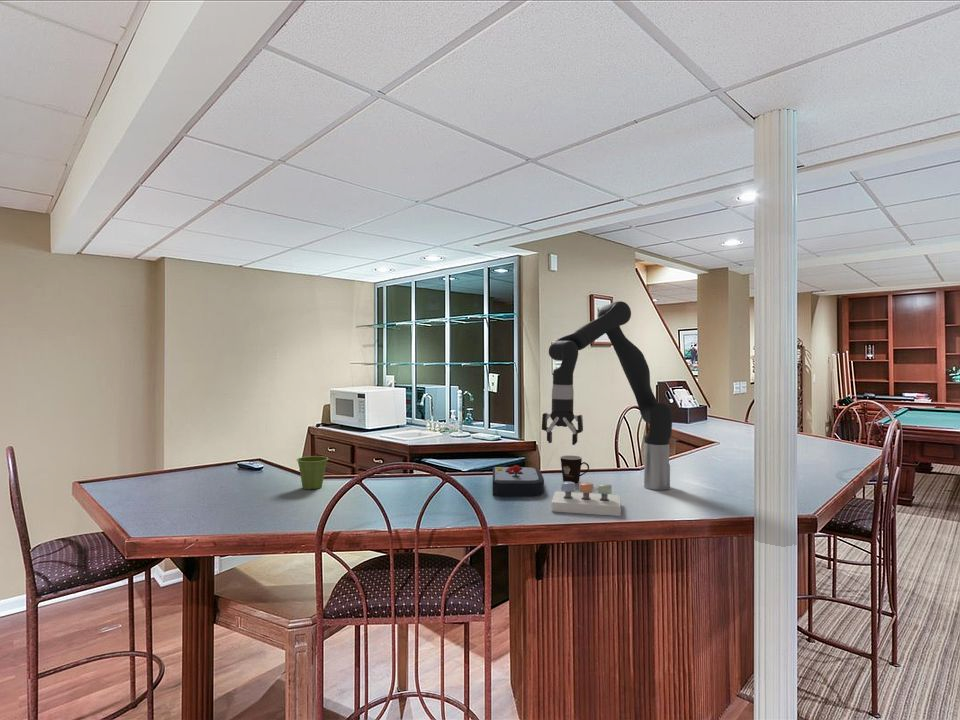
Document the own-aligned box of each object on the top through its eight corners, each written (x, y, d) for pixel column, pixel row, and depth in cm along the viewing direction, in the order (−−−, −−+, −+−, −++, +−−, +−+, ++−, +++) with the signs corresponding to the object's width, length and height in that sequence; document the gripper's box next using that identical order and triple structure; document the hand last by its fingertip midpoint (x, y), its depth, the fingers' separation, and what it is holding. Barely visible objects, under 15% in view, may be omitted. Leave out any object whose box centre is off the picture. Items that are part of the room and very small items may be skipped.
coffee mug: (556, 480, 215) (556, 456, 215) (573, 478, 219) (573, 454, 219) (572, 487, 205) (572, 461, 205) (590, 484, 208) (590, 459, 208)
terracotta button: (593, 499, 179) (593, 482, 179) (593, 503, 175) (593, 486, 175) (579, 498, 180) (579, 482, 180) (578, 502, 176) (579, 485, 176)
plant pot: (323, 491, 198) (323, 461, 197) (291, 491, 198) (291, 461, 198) (332, 484, 209) (332, 455, 209) (302, 483, 210) (302, 455, 210)
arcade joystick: (545, 498, 190) (546, 470, 190) (492, 497, 191) (492, 470, 191) (539, 479, 218) (539, 455, 218) (492, 479, 219) (492, 455, 219)
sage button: (611, 500, 178) (611, 483, 178) (611, 504, 173) (611, 487, 173) (597, 499, 179) (597, 483, 179) (597, 503, 174) (597, 486, 174)
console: (619, 503, 182) (619, 495, 182) (620, 515, 168) (620, 506, 168) (555, 499, 187) (555, 491, 187) (551, 511, 173) (551, 502, 173)
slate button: (575, 498, 180) (575, 481, 180) (574, 501, 176) (574, 485, 176) (561, 497, 182) (561, 481, 181) (560, 501, 177) (560, 484, 177)
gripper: (585, 397, 185) (584, 443, 185) (546, 396, 191) (545, 440, 191) (580, 399, 178) (579, 447, 178) (539, 397, 184) (539, 443, 184)
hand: (561, 443), depth 185 cm, fingers open, 8 cm apart
